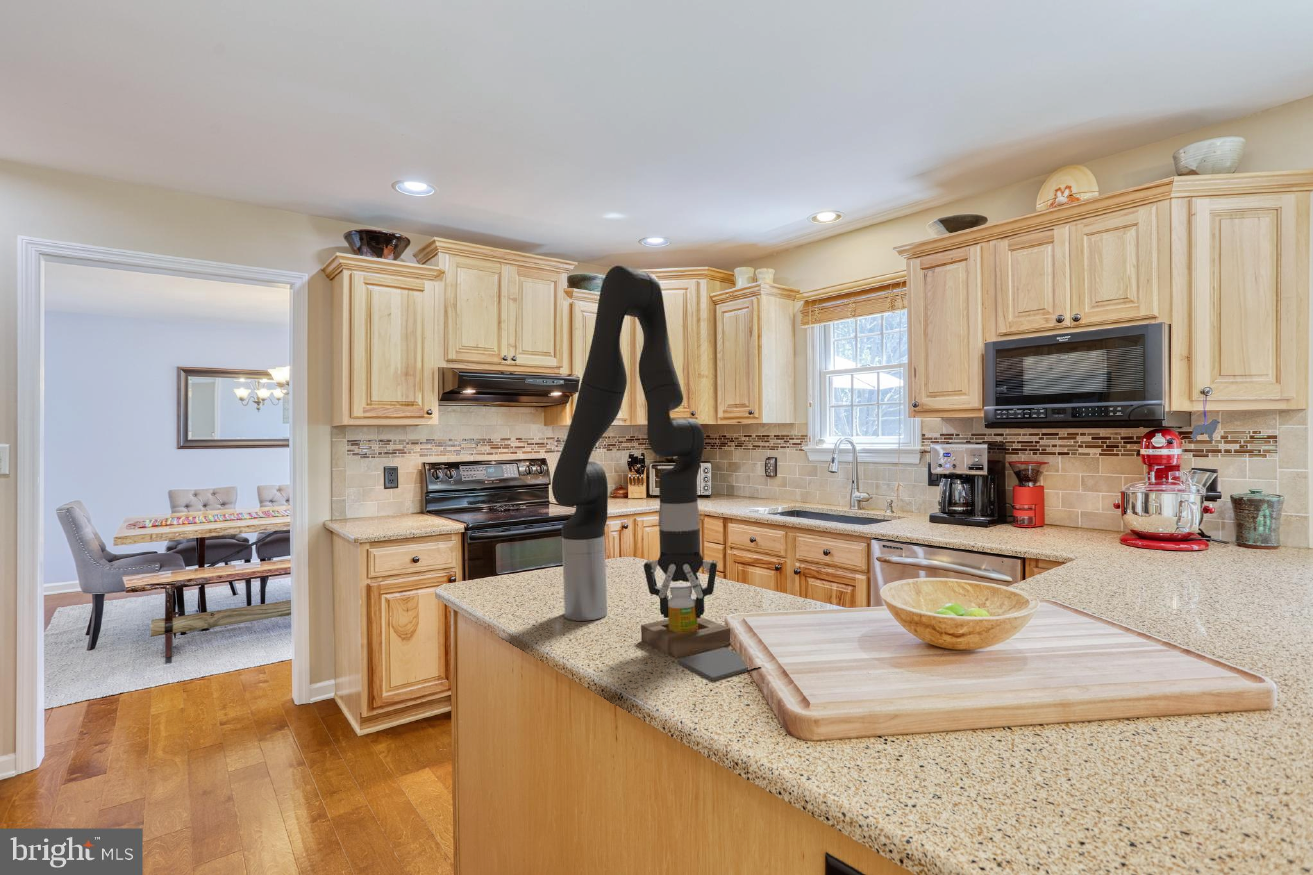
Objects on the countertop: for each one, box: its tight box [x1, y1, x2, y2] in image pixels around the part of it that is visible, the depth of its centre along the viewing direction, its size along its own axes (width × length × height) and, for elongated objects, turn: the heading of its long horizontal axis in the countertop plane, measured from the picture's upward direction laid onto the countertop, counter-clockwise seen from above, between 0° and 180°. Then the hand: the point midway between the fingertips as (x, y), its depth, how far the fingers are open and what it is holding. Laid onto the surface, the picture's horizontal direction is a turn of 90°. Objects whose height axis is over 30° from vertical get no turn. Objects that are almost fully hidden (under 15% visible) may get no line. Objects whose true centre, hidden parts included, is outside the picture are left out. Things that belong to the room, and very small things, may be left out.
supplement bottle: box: [667, 583, 698, 634], centre depth 122 cm, size 5×5×10 cm
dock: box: [640, 616, 731, 659], centre depth 123 cm, size 12×12×3 cm
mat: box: [677, 646, 748, 682], centre depth 111 cm, size 10×10×1 cm
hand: (682, 616), depth 122 cm, fingers closed on supplement bottle, 5 cm apart
